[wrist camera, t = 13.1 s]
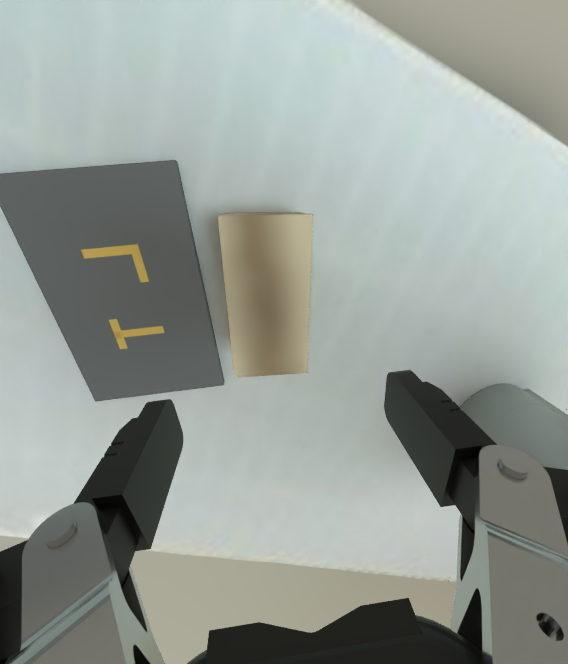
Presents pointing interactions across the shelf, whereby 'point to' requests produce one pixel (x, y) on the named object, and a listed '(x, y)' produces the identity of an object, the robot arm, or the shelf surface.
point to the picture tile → (118, 273)
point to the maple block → (267, 290)
